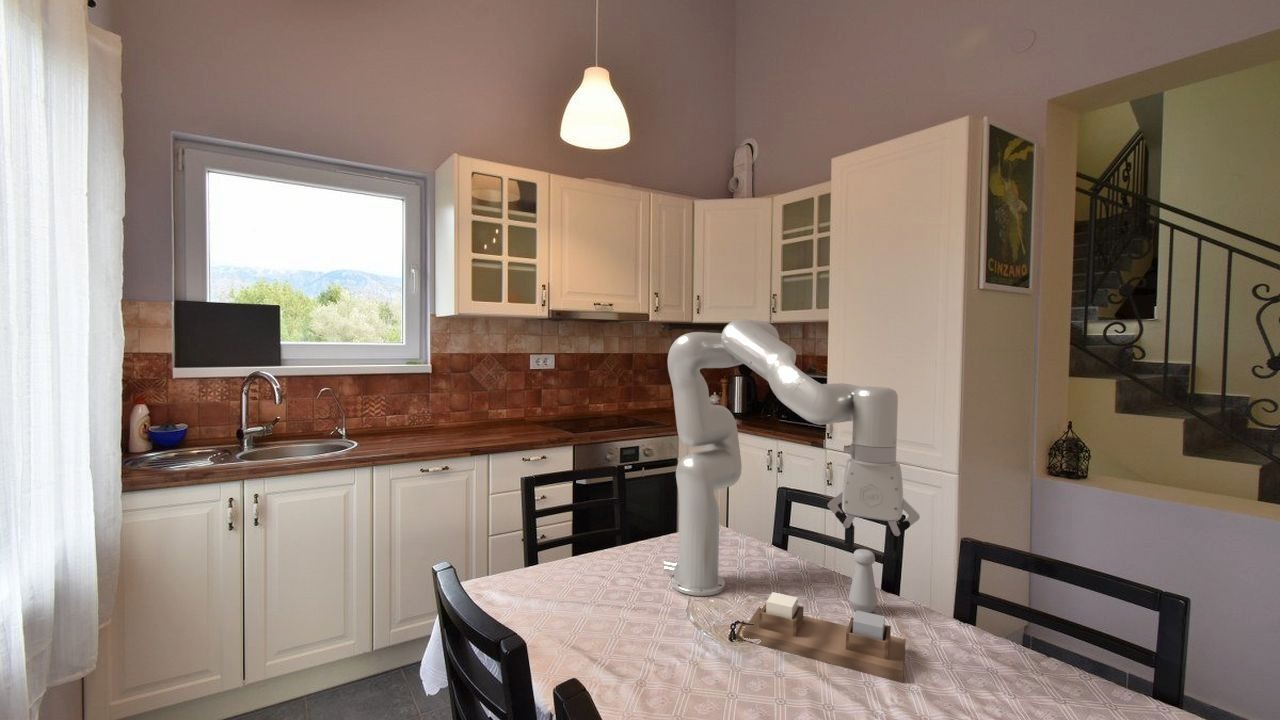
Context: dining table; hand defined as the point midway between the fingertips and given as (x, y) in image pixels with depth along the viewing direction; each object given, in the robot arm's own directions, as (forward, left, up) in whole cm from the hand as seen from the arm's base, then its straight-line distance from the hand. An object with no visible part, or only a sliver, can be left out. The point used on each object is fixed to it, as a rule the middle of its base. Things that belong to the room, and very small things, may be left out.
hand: (871, 550), depth 104 cm
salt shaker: (-3, +19, -20) cm, 28 cm away
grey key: (0, 0, -15) cm, 15 cm away
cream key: (-16, 0, -15) cm, 22 cm away
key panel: (-8, 0, -20) cm, 21 cm away
